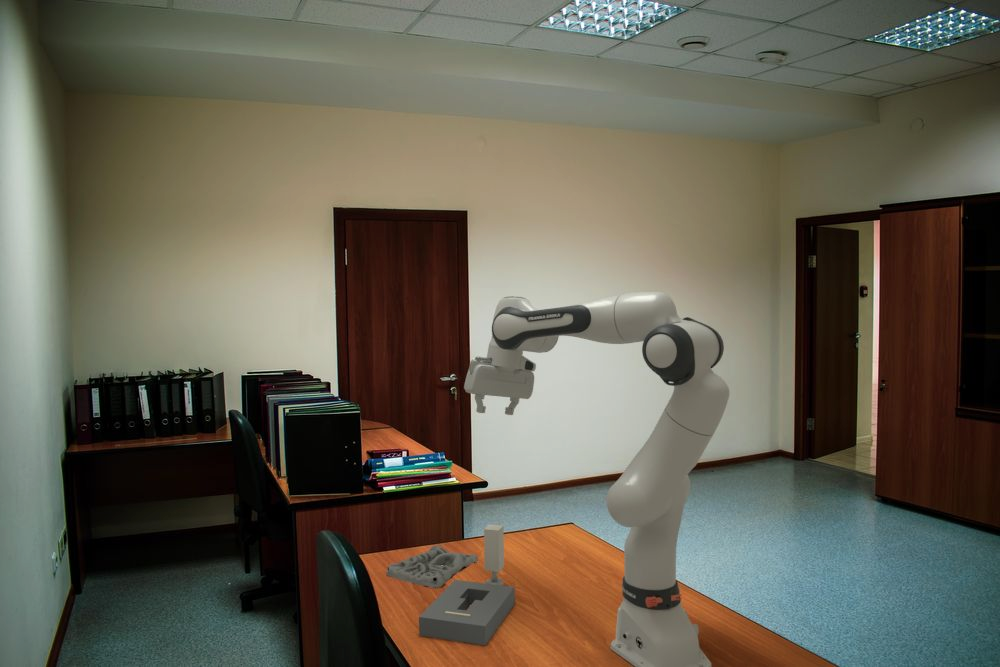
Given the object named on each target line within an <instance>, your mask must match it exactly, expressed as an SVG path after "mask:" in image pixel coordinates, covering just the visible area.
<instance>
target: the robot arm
mask: <svg viewBox="0 0 1000 667" xmlns="http://www.w3.org/2000/svg"><path fill="white" fill-rule="evenodd" d="M561 336H563V337H566V336H567V337H573V338H579V339H584V340H588V341H591V342H596V343H602V344H610V345H611V344H612V345H624V344H625V345H626V344H633V343H640V342H642V347H641V349H642V350H641V352H642V358H643V361H644V362H645V364H646V365H647V367H649V369H650V370H651V371H652V372H654V373H655V375H657V376H659V377H660V379H661V380H662V381H663V382H664V384H665V385H667V386H670V387H671V386H673V392H672V394H671V397H670V399H669V400H668V402H667V403H666V406H665V408H664V409H663V412H662V413H661V415H660V417H659V419H658V421H657V422H656V424H655V426H654V428H653V430H652V431H651V434H650V435H649V437H648V439H647V440H646V441H645V443H644V444H643V446H642V447H641V448H640V449H639V451H637V453H636V454H635V456H634V457H633V459H632V460H631V461H630V463H629V464H627V465H628V466H627V467H626V468H625V470H624V472H623V473H622V474H621V476H619V478H618V479H617V480H616V481H615V482H614V484H612V486H610V488H609V489H608V491H607V493H606V498H605V505H606V508H607V511H608V513H609V515H610V517H611V518H612V520H613V521H614V522H616V523H617V524H618V525H620V526H622V527H625V528H630V530H629V532H628V534H627V537H626V538H625V542H624V553H623V555H624V556H623V558H624V560H623V561H624V563H623V564H624V568H623V569H624V576H623V577H622V584H621V589H622V590H621V591H622V597H623V599H622V602H621V604H620V606H619V607H618V609H617V614H616V626H615V627H616V628H615V639H613V640H612V641H611V642H610V650H611V651H613V652H614V653H615V654H617V655H618V656H620V657H621V658H623V659H624V660H626V661H627V662H629V664H630V665H632V666H634V667H712V666H713V665H712V662H711V660H709V658H708V657H707V655H706V654H705V653H704V652H703V650H702V649H701V648H700V642H699V636H698V635H699V634H700V628H699V626H698V625H699V624H697V623H692V622H691V620H690V618H689V615H688V611H687V610H685V609H684V607H683V605H682V603H681V601H682V597H681V596H683V595H682V593H680V592H681V591H680V587H679V582H678V580H677V572H676V571H677V547H678V546H677V545H678V544H677V542H678V538H679V533H680V529H681V522H682V518H683V512H684V507H685V503H686V502H687V500H688V499H687V498H688V496H689V494H690V492H691V480H690V477H689V474H690V472H691V471H692V470H693V469H694V468H695V467H696V466H697V464H698V463H699V461H700V459H701V457H702V456H703V454H704V452H705V451H706V448H708V445H709V443H710V441H711V439H712V438H713V436H714V434H715V433H716V431H717V429H718V426H719V424H720V423H721V420H722V418H723V415H724V413H725V410H726V408H727V406H728V402H729V398H730V389H729V385H728V384H727V382H726V381H725V379H723V377H721V376H720V375H719V374H717V373H716V372H714V371H713V368H714V367H715V366H716V365H718V363H719V362H720V361H721V359H722V358H723V354H724V350H725V346H724V345H725V344H724V340H723V338H722V336H721V335H720V334H719V332H718V331H717V330H715V329H714V328H713V327H712V326H710V325H708V324H705V323H703V322H700V321H698V320H696V319H693V318H691V317H689V316H688V317H684V318H680V316H679V315H678V312H677V307H676V304H675V302H674V301H673V299H672V298H671V296H669V295H668V294H667V293H665V292H662V291H650V290H649V291H635V292H627V293H625V292H624V293H621V294H614V295H611V296H607V297H603V298H597V299H594V300H589V301H586V302H585V301H584V302H581V303H577V304H572V305H568V306H561V307H553V308H552V307H551V308H545V309H537V308H536V307H534V306H533V305H532V303H531V302H530V300H529V299H527V298H526V297H523V296H513V295H512V296H511V295H510V296H505V297H502V298H501V299H499V301H498V303H497V305H496V307H495V311H494V316H493V320H492V325H491V339H490V341H489V344H488V347H487V348H488V349H487V354H486V357H482V356H475V357H474V358H473V359H472V360H470V362H469V367H468V370H467V373H466V377H465V382H464V386H463V389H464V390H465V393H468V394H472V395H474V401H475V403H476V409H475V410H476V411H475V412H476V413H478V414H485V413H486V409H487V406H485V405H484V401H483V400H485V396H488V397H489V396H491V397H503V398H509V401H510V403H509V405H508V406H506V407H505V409H504V410H505V411H504V415H508V416H513V415H514V412H515V409H516V407H517V406H518V404H519V403H520V399H525V400H529V399H530V398H531V397H532V395H533V391H534V385H535V374H534V372H535V371H536V368H537V365H536V363H535V362H534V361H532V360H530V359H529V358H527V357H526V356H524V355H523V354H524V352H529V353H536V354H542V353H549V352H550V351H552V350H553V349H554V348H555V346H556V345H557V343H558V341H559V340H558V339H559V338H560V337H561Z"/></svg>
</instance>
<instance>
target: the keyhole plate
mask: <svg viewBox="0 0 1000 667" xmlns="http://www.w3.org/2000/svg"><path fill="white" fill-rule="evenodd" d="M515 587H516V586H510V585H504V584H503V585H495V584H487V583H486V582H476V581H470V580H461V579H460V580H459V579H454V580H453V581H452V582H451V583H450V584H449V585H448V586H447V587H446V588H445V589H444V590H443V591H442V592H441V593H440V595H438V596H437V598H436V599H434V601H432V603H431V604H430V605H429V606H428V607H427V608H426V609H425V610H424V611H423V612H422V613H421V614H420V615H419V616H418V635H420V636H419V637H424V636H426V637H425V638H431V637H433V639H437V638H439V640H444V639H447V640H446V641H451V640H453V641H452V642H457V641H458V642H457V643H464V642H466V644H472V645H479V646H484V647H485V646H487V645H488V643H489V641H490V640H491V639H492V637H493V636H494V634H496V632H497V631H498V629H499V627H500V626H501V624H502V623H503V622H504V621H505V618H506V617H507V616H508V615H509V614H510V612H511V610H512V609H513V608H514V607H515V605H514V604H516V599H515V598H516V588H515ZM469 605H471V606H469ZM466 608H467V609H466ZM465 609H466V610H465Z"/></svg>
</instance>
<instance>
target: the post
mask: <svg viewBox="0 0 1000 667" xmlns="http://www.w3.org/2000/svg"><path fill="white" fill-rule="evenodd" d="M483 533H484V534H483V537H484V538H483V539H484V540H483V542H484V544H483V545H484V551H483V552H484V571H486V572H487V571H488V572H491V578H488V579H486V580H485V581H486V582H485V583H487V584H495V585H503V586H504V580H503V579H502V578H500V577H498V575H499V574H498V573H500V572H501V571H502V569H503V568H504V567H505V550H504V549H505V548H504V546H505V543H504V540H505V539H504V525H502V524H501V525H499V524H491V523H490V524H488V525H486V527H485V528H483Z"/></svg>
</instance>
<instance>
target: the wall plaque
mask: <svg viewBox="0 0 1000 667" xmlns="http://www.w3.org/2000/svg"><path fill="white" fill-rule="evenodd" d="M478 560H479V558H478V555H476V554H474V553H472V554H468V553H467V554H465V553H462V552H455V551H453V552H450V551H448V550H446V549H445V548H444V547H442V546H440V545H439V544H438V545H436V544H435V545H432V546H431V547H430V548H429V550H427V551H424V552H421V553H419V554H416V555H415V556H410V557H408V558H406V559H404V560H401V561H399V562H394V563H390V564H389V565H388V566H387V569H386V574H385V575H386V576H387V577H388V576H389V578H392V579H395V578H396V580H399V581H403V582H407V583H411V584H413V583H414V584H413V585H417V584H418V585H417V586H421V585H422V587H428V588H429V587H432V588H431V589H436V588H435V587H440V588H442V587H443V586H444V585H446V584H445V583H447V582H448V581H450V580H451V578H452V577H453V575H456V574H458V573H460V571H461V570H462V569H463V568H464V567H465V568H468V567H469V566H468V565H470V564H471V563H474V562H477V561H478ZM477 563H478V562H477ZM474 564H475V563H474ZM441 565H443V566H441ZM471 565H472V564H471ZM471 565H470V566H471ZM467 566H468V567H467ZM457 572H458V573H457ZM434 579H436V580H434ZM447 580H448V581H447Z"/></svg>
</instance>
